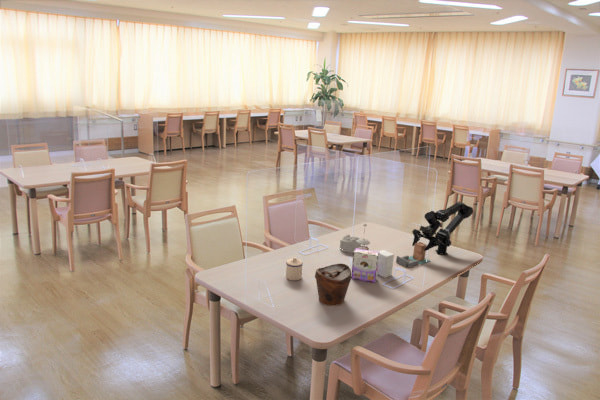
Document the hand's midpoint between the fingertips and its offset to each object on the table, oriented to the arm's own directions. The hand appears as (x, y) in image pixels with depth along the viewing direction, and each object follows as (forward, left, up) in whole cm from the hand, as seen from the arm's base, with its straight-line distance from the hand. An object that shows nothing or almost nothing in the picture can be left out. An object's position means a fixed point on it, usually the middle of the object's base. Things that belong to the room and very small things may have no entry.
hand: (418, 248), depth 303 cm
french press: (+6, -35, -8) cm, 37 cm away
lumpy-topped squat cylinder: (-14, -40, -8) cm, 43 cm away
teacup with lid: (+28, -77, -8) cm, 83 cm away
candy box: (+28, -37, -8) cm, 48 cm away
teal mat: (-1, +1, -8) cm, 8 cm away
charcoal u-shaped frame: (+5, -8, -8) cm, 12 cm away
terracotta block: (-1, +1, -8) cm, 8 cm away
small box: (+21, -25, -8) cm, 34 cm away
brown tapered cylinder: (+54, -58, -8) cm, 80 cm away
